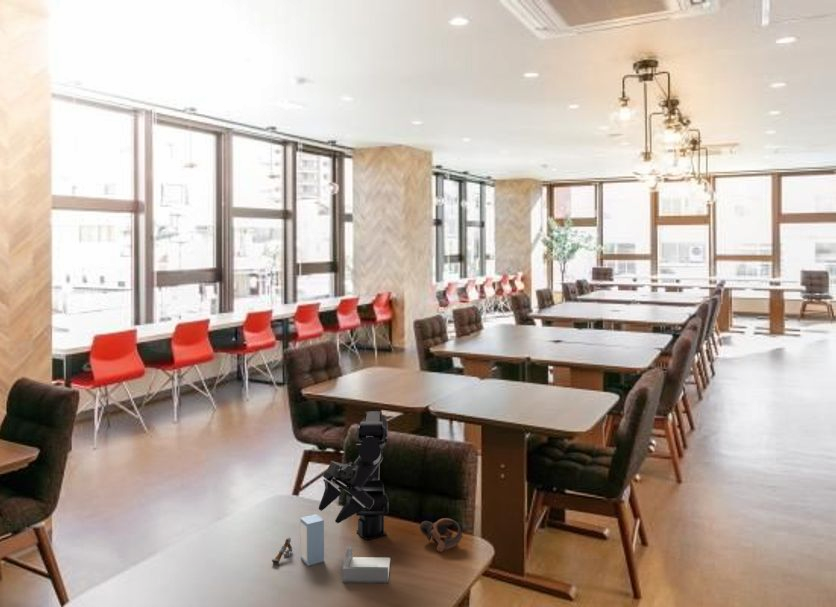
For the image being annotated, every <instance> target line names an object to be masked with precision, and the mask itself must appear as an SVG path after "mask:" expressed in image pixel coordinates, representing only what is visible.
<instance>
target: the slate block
mask: <svg viewBox="0 0 836 607" xmlns="http://www.w3.org/2000/svg"><path fill="white" fill-rule="evenodd" d="M299 519H300V521H299V524H300V525H299V528H300V560H301V561H302V562H303V563H304V564H306V566H312V565H317V564H319V563H323V562H325V524H324V523H325V519H323V518H322V517H321V516H320V515H318V514H317V513H316V514H312V515H307V516H302V517H300V518H299Z"/></svg>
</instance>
